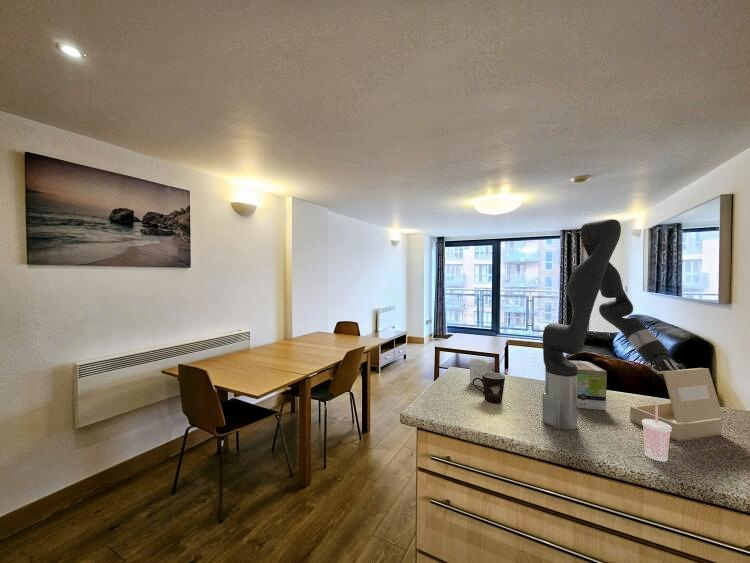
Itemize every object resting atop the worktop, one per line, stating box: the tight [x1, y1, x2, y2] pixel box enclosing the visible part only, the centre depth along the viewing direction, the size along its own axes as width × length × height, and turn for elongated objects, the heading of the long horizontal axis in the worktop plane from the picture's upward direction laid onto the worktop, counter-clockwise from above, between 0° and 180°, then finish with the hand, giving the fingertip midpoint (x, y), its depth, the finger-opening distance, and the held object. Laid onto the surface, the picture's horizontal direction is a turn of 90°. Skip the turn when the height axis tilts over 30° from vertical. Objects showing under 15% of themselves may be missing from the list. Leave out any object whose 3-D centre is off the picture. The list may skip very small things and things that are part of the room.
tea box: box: [568, 359, 608, 411], centre depth 124 cm, size 15×10×15 cm, turn 168°
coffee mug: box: [471, 371, 506, 405], centre depth 126 cm, size 12×9×10 cm
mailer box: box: [629, 401, 723, 443], centre depth 103 cm, size 18×14×5 cm
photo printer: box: [469, 357, 493, 388], centre depth 143 cm, size 10×4×12 cm, turn 36°
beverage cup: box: [642, 405, 672, 462], centre depth 86 cm, size 6×6×14 cm
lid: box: [657, 367, 724, 423], centre depth 99 cm, size 18×15×2 cm
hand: (688, 392), depth 99 cm, fingers closed
